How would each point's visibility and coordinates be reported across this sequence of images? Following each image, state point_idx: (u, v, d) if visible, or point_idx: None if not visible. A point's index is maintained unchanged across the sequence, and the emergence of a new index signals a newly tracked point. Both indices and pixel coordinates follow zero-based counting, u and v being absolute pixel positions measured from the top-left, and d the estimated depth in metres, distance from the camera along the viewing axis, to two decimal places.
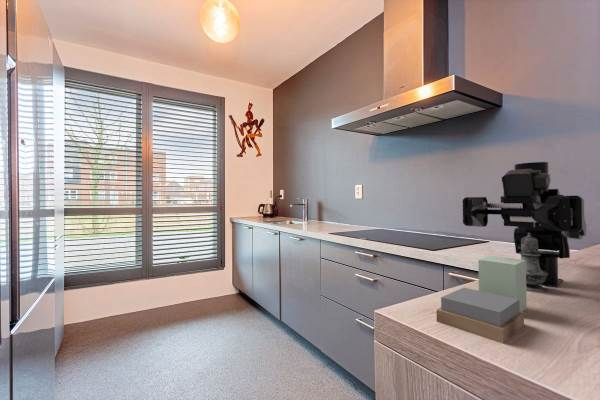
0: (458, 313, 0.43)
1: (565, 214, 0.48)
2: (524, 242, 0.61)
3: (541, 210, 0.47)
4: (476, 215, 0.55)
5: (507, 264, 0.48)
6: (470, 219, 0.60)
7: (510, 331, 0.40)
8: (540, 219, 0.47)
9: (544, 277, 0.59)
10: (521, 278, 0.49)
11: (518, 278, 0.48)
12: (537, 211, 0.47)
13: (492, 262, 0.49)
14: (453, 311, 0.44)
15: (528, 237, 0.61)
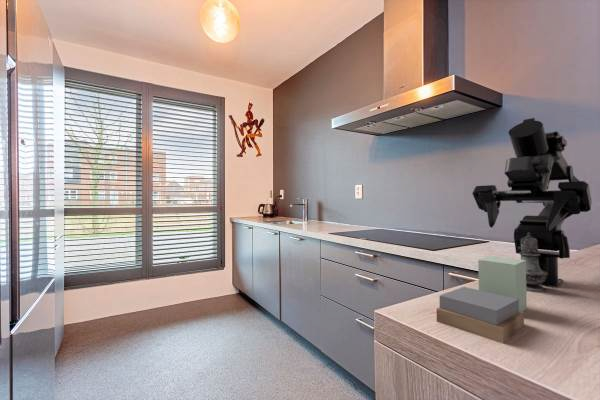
0: (456, 311, 0.43)
1: (573, 204, 0.53)
2: (524, 242, 0.61)
3: (553, 219, 0.52)
4: (493, 222, 0.60)
5: (507, 264, 0.48)
6: (485, 208, 0.65)
7: (510, 330, 0.40)
8: (554, 226, 0.53)
9: (544, 277, 0.59)
10: (521, 278, 0.49)
11: (518, 278, 0.48)
12: (550, 224, 0.52)
13: (492, 262, 0.49)
14: (451, 309, 0.44)
15: (527, 237, 0.61)
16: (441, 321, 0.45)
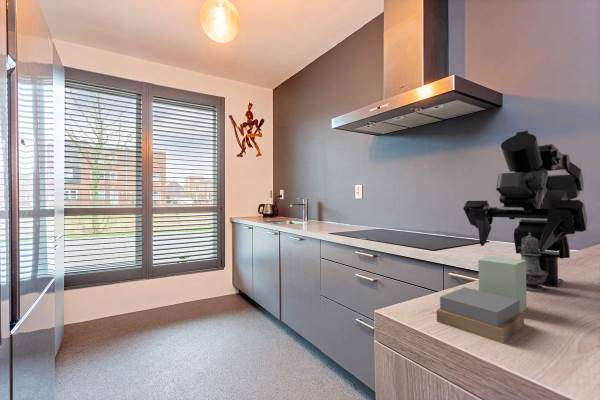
0: (456, 313, 0.43)
1: (568, 223, 0.50)
2: (524, 242, 0.61)
3: (547, 240, 0.49)
4: (485, 240, 0.57)
5: (507, 264, 0.48)
6: (477, 224, 0.62)
7: (510, 331, 0.40)
8: (547, 247, 0.50)
9: (544, 277, 0.59)
10: (521, 278, 0.49)
11: (518, 278, 0.48)
12: (543, 245, 0.49)
13: (492, 262, 0.49)
14: (451, 310, 0.44)
15: (528, 237, 0.61)
16: (441, 322, 0.45)
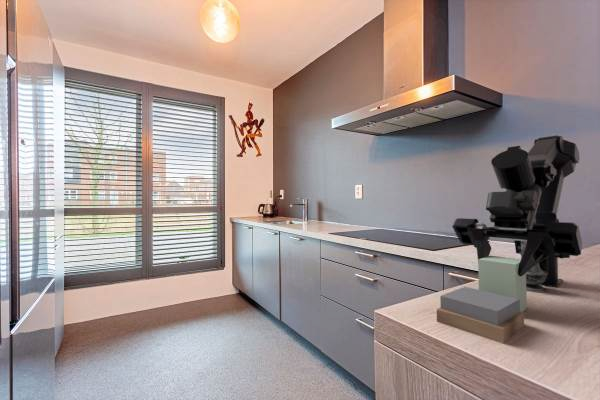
0: (457, 312, 0.43)
1: (548, 246, 0.48)
2: (524, 242, 0.61)
3: (526, 264, 0.47)
4: None
5: (507, 264, 0.48)
6: (476, 244, 0.58)
7: (510, 330, 0.40)
8: (527, 271, 0.48)
9: (544, 277, 0.59)
10: (521, 278, 0.49)
11: (518, 278, 0.48)
12: (522, 269, 0.47)
13: (492, 262, 0.49)
14: (452, 310, 0.44)
15: None
16: (441, 322, 0.45)
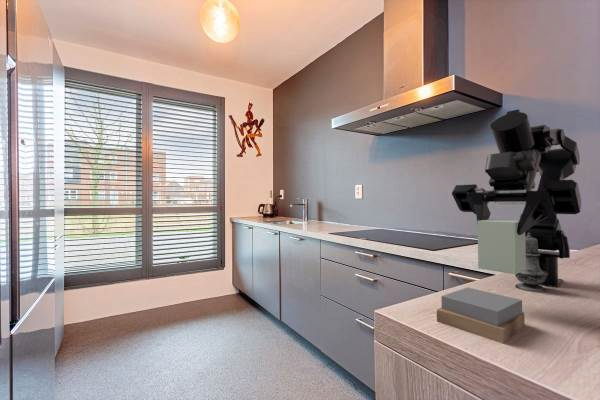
0: (458, 312, 0.44)
1: (547, 205, 0.48)
2: None
3: (525, 222, 0.47)
4: None
5: (506, 223, 0.48)
6: (475, 210, 0.58)
7: (510, 331, 0.40)
8: (526, 230, 0.48)
9: (544, 277, 0.59)
10: (520, 237, 0.49)
11: (517, 237, 0.47)
12: (521, 227, 0.47)
13: (491, 222, 0.49)
14: (453, 310, 0.44)
15: (528, 237, 0.61)
16: (441, 322, 0.45)
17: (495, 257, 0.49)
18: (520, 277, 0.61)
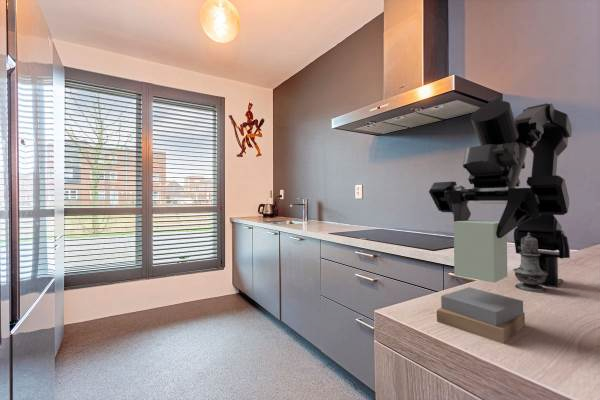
0: (457, 312, 0.44)
1: (531, 204, 0.42)
2: (524, 242, 0.61)
3: (505, 224, 0.42)
4: None
5: (484, 224, 0.42)
6: None
7: (510, 331, 0.40)
8: (507, 232, 0.42)
9: (544, 277, 0.59)
10: (500, 240, 0.43)
11: (496, 240, 0.42)
12: (501, 229, 0.42)
13: (468, 223, 0.44)
14: (452, 310, 0.44)
15: (528, 237, 0.61)
16: (441, 322, 0.45)
17: (472, 263, 0.43)
18: (520, 277, 0.61)
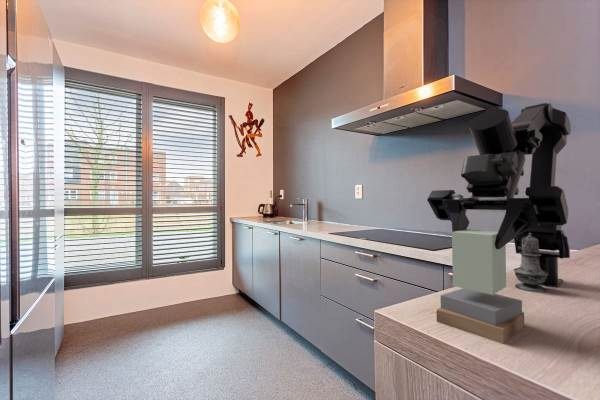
0: (456, 311, 0.44)
1: (530, 215, 0.42)
2: (525, 242, 0.61)
3: (504, 235, 0.41)
4: None
5: (483, 235, 0.42)
6: None
7: (510, 331, 0.40)
8: (505, 243, 0.42)
9: (544, 277, 0.59)
10: (499, 251, 0.43)
11: (495, 251, 0.41)
12: (500, 241, 0.41)
13: (466, 234, 0.43)
14: (451, 309, 0.44)
15: (529, 237, 0.61)
16: (441, 322, 0.45)
17: (471, 274, 0.43)
18: (520, 277, 0.61)
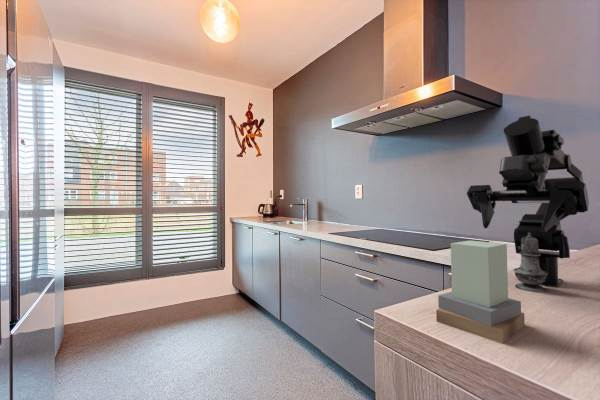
0: (453, 311, 0.44)
1: (570, 204, 0.51)
2: (524, 242, 0.61)
3: (549, 220, 0.50)
4: (488, 223, 0.58)
5: (479, 247, 0.42)
6: (480, 209, 0.63)
7: (510, 331, 0.40)
8: (550, 227, 0.51)
9: (544, 277, 0.59)
10: (498, 264, 0.42)
11: (492, 264, 0.41)
12: (546, 225, 0.50)
13: (464, 245, 0.44)
14: (449, 309, 0.45)
15: (528, 237, 0.61)
16: (441, 322, 0.45)
17: (469, 286, 0.43)
18: (520, 278, 0.61)
